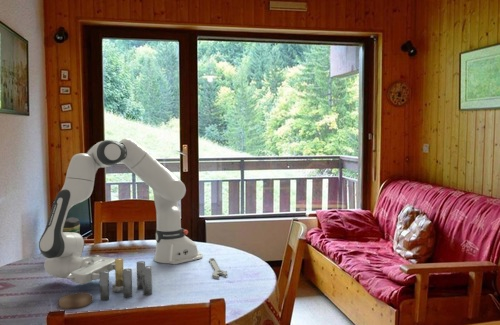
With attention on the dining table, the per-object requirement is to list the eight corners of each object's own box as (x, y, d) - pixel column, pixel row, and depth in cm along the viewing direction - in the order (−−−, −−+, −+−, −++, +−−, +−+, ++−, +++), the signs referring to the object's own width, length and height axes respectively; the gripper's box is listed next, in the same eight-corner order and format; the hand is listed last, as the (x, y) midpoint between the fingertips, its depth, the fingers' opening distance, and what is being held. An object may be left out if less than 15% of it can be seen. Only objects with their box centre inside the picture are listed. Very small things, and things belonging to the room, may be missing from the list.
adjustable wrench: (208, 261, 202) (208, 257, 202) (222, 261, 203) (222, 257, 203) (212, 279, 177) (212, 275, 177) (228, 279, 178) (228, 274, 178)
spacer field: (98, 300, 156) (97, 272, 155) (125, 284, 171) (125, 259, 171) (135, 305, 151) (134, 277, 150) (159, 288, 167) (159, 263, 166)
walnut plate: (90, 294, 161) (90, 290, 161) (94, 305, 151) (94, 301, 151) (57, 300, 156) (57, 295, 156) (59, 311, 146) (59, 307, 146)
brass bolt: (126, 286, 169) (125, 256, 168) (128, 291, 164) (128, 260, 163) (111, 289, 166) (110, 258, 165) (113, 294, 161) (112, 262, 160)
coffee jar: (68, 253, 213) (66, 216, 212) (83, 253, 213) (82, 216, 211) (57, 259, 204) (55, 220, 202) (73, 259, 203) (72, 220, 201)
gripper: (63, 269, 160) (94, 273, 155) (98, 253, 179) (127, 256, 175) (63, 286, 160) (95, 290, 156) (99, 268, 180) (128, 272, 175)
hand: (112, 272), depth 166 cm, fingers open, 8 cm apart
